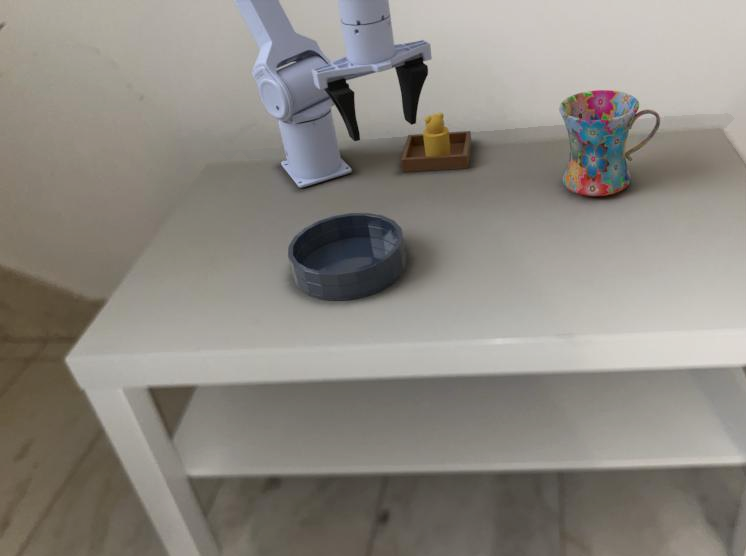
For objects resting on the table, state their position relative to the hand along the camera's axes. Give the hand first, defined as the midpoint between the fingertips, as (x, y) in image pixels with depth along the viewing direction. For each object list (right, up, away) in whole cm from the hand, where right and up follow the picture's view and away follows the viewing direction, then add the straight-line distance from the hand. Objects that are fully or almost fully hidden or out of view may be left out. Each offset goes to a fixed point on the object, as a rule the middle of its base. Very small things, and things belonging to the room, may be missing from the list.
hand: (382, 129), depth 96 cm
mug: (+29, -7, +2) cm, 29 cm away
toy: (+7, 0, +13) cm, 15 cm away
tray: (+7, 0, +14) cm, 15 cm away
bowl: (-3, -18, -7) cm, 19 cm away
